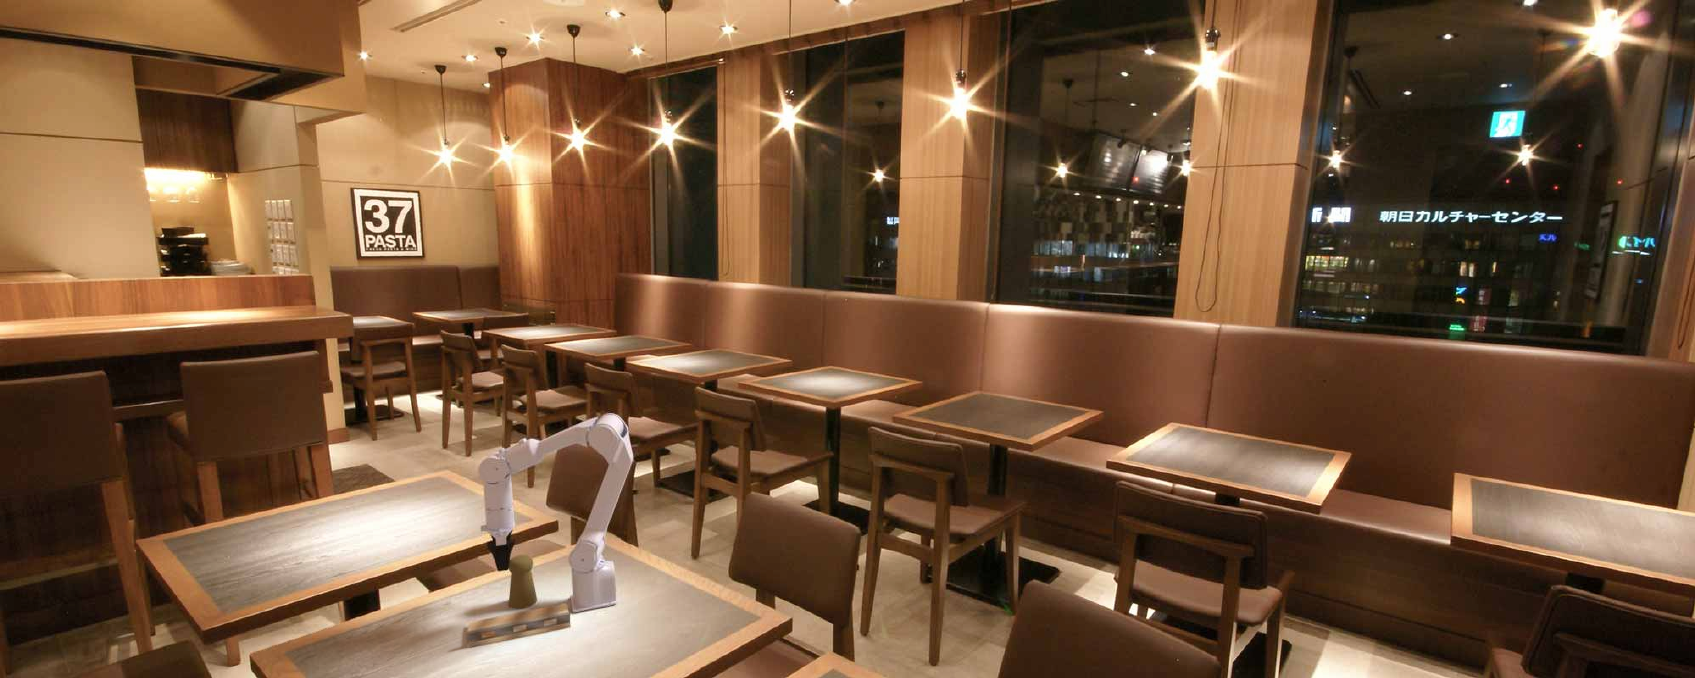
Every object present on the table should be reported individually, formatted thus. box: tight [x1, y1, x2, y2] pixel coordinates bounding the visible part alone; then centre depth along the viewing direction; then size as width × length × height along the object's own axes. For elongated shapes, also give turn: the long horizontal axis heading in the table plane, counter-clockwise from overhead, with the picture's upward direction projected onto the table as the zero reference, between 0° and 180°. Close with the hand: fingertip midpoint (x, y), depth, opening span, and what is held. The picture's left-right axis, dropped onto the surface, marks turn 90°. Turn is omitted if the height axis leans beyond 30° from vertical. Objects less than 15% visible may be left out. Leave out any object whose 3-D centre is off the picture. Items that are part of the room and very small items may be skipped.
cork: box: [508, 554, 538, 610], centre depth 171 cm, size 6×6×11 cm
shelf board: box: [466, 603, 571, 648], centre depth 161 cm, size 20×9×3 cm, turn 115°
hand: (502, 563), depth 168 cm, fingers open, 7 cm apart
